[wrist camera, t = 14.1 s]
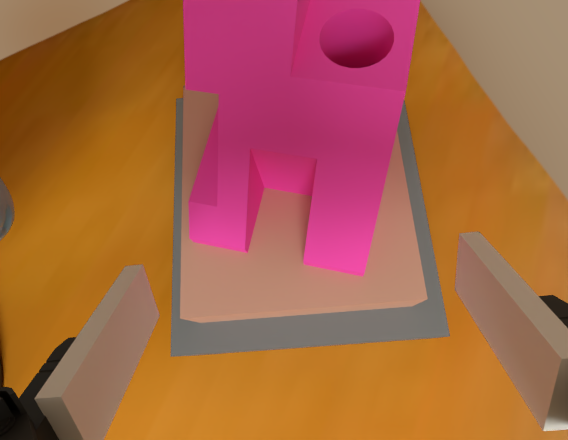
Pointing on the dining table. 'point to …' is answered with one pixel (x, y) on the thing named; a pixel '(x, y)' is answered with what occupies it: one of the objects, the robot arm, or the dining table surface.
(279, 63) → the bracket
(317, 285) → the two-tone base plate
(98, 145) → the dining table surface
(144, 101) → the dining table surface
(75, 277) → the dining table surface
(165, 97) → the dining table surface
